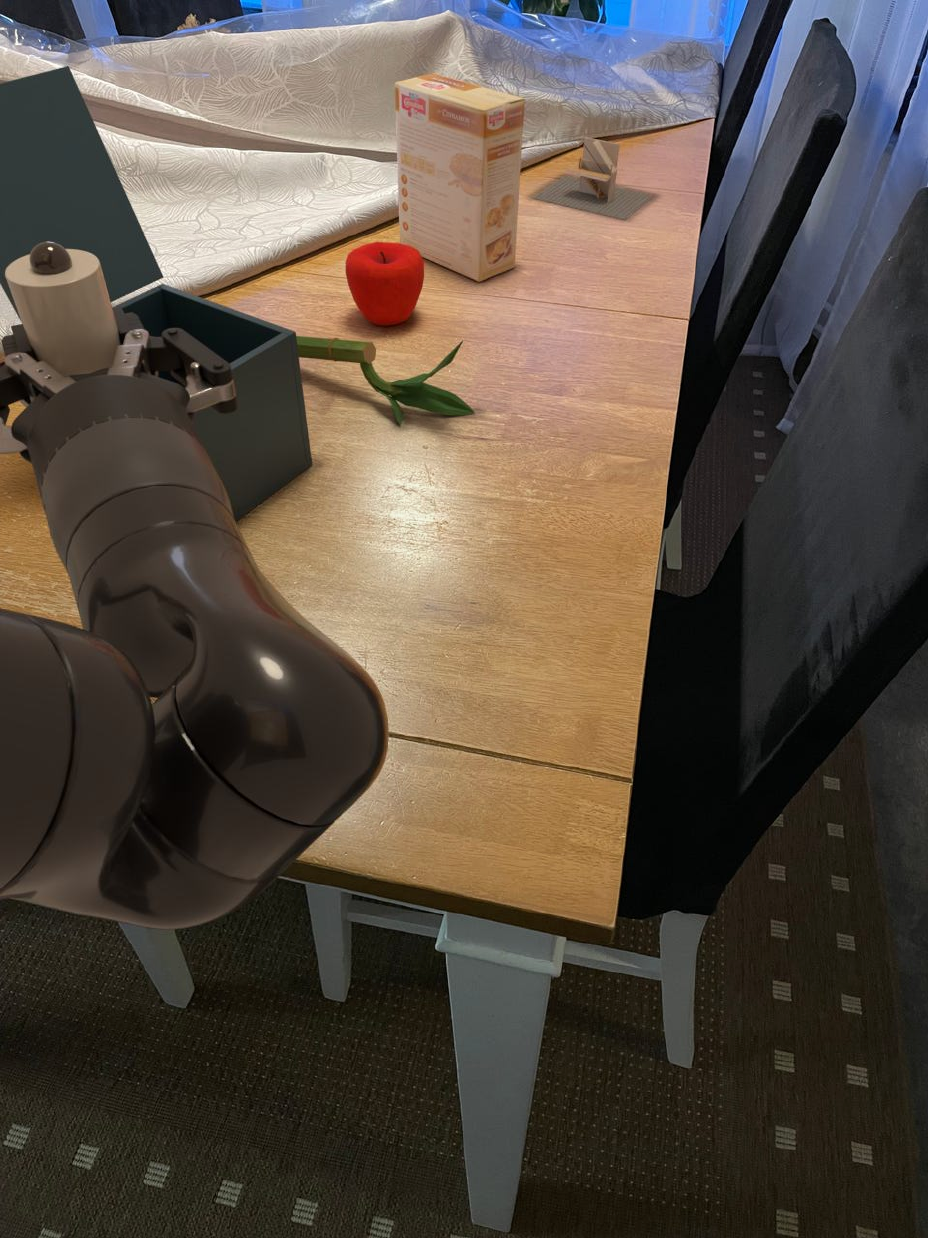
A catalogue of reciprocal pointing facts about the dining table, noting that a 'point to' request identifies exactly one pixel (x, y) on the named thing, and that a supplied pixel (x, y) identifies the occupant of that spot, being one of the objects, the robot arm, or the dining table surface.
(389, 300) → the apple
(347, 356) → the decorative plant
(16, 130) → the lid
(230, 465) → the chest
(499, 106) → the coffeecake box
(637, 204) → the architectural model
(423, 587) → the dining table surface
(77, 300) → the pepper mill
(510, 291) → the dining table surface
